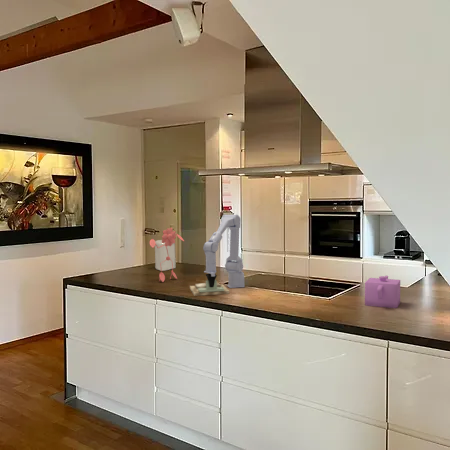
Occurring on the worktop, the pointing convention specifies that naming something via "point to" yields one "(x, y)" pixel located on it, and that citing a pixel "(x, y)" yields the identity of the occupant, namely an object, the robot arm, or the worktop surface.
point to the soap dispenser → (164, 256)
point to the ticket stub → (211, 289)
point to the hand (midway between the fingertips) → (211, 286)
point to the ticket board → (203, 285)
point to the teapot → (382, 292)
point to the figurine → (168, 240)
